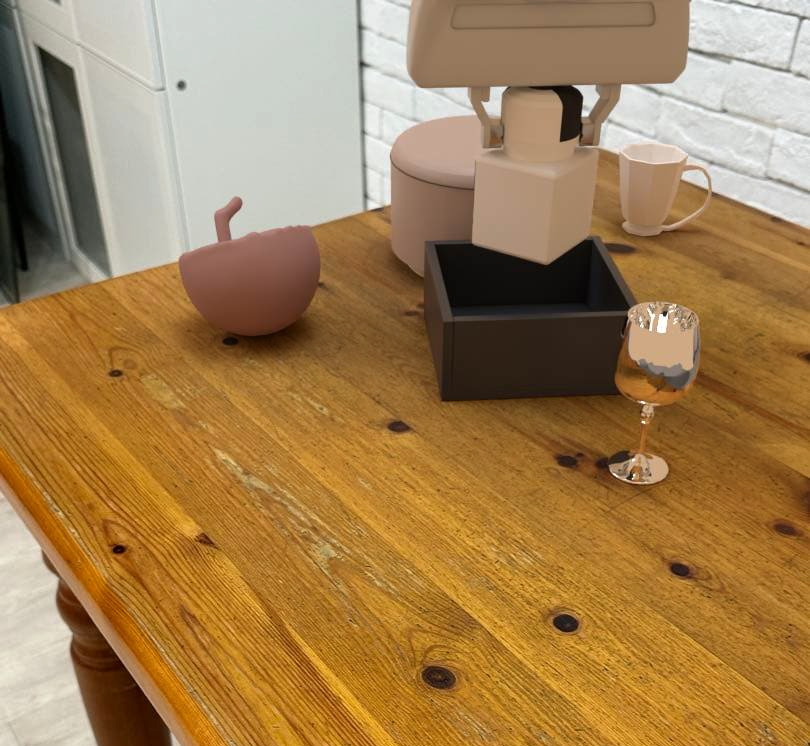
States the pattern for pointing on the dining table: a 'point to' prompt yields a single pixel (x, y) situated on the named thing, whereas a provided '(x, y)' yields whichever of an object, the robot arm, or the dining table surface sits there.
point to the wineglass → (653, 376)
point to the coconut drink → (252, 276)
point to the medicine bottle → (535, 177)
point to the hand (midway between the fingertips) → (538, 145)
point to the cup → (653, 186)
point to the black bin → (523, 321)
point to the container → (433, 185)
